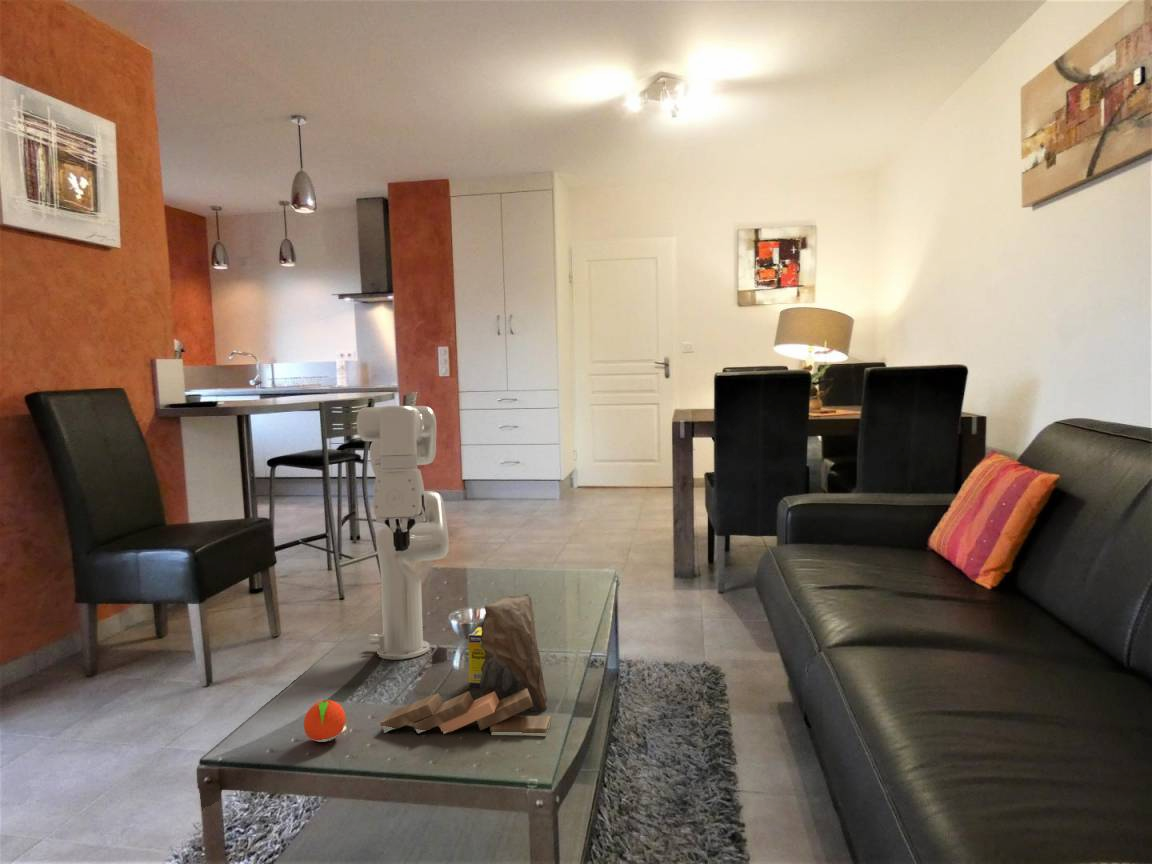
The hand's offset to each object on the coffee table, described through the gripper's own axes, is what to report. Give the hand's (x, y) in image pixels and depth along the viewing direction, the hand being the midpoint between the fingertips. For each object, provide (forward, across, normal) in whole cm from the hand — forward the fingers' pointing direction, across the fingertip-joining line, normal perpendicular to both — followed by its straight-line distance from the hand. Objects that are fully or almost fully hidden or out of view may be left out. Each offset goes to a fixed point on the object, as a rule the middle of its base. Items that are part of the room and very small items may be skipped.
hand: (401, 549), depth 141 cm
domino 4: (+28, +21, -18) cm, 40 cm away
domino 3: (+28, +15, -19) cm, 37 cm away
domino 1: (+28, +5, -19) cm, 34 cm away
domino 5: (+29, +24, -18) cm, 42 cm away
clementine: (+29, -4, -26) cm, 39 cm away
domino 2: (+28, +11, -19) cm, 36 cm away
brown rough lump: (+29, +26, -7) cm, 40 cm away
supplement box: (+29, +17, +4) cm, 34 cm away
